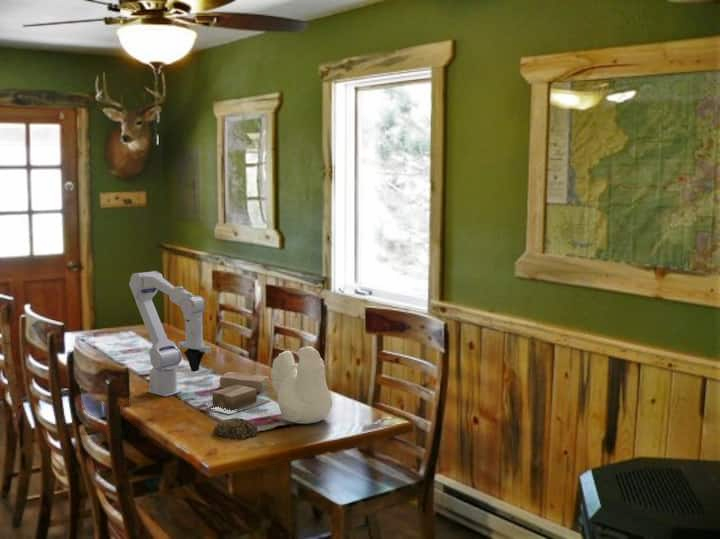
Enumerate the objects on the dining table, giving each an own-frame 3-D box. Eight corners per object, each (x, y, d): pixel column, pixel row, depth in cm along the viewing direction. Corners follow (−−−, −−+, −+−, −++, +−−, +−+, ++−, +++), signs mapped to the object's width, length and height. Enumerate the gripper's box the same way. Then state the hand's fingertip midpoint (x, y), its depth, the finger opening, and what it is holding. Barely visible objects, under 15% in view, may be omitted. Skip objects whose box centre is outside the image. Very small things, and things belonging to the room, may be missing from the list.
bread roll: (207, 434, 236) (207, 418, 236) (235, 424, 247) (235, 409, 246) (238, 443, 229) (239, 427, 229) (266, 432, 239) (266, 416, 239)
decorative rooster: (340, 424, 248) (342, 348, 244) (296, 432, 239) (298, 353, 236) (302, 403, 268) (304, 332, 265) (261, 410, 260) (261, 337, 257)
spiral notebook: (205, 408, 260) (205, 408, 260) (247, 395, 277) (247, 394, 277) (229, 415, 254) (229, 414, 254) (270, 401, 270) (270, 400, 270)
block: (212, 391, 264) (231, 396, 258) (237, 384, 273) (256, 389, 268) (212, 404, 264) (231, 410, 259) (237, 396, 274) (256, 401, 269)
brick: (269, 386, 289) (269, 374, 289) (262, 393, 281) (262, 380, 281) (227, 383, 293) (227, 371, 292) (219, 389, 285) (219, 376, 284)
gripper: (217, 332, 265) (218, 371, 267) (188, 327, 274) (189, 365, 275) (202, 335, 260) (203, 375, 261) (172, 330, 268) (173, 369, 269)
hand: (194, 371), depth 268 cm, fingers closed
